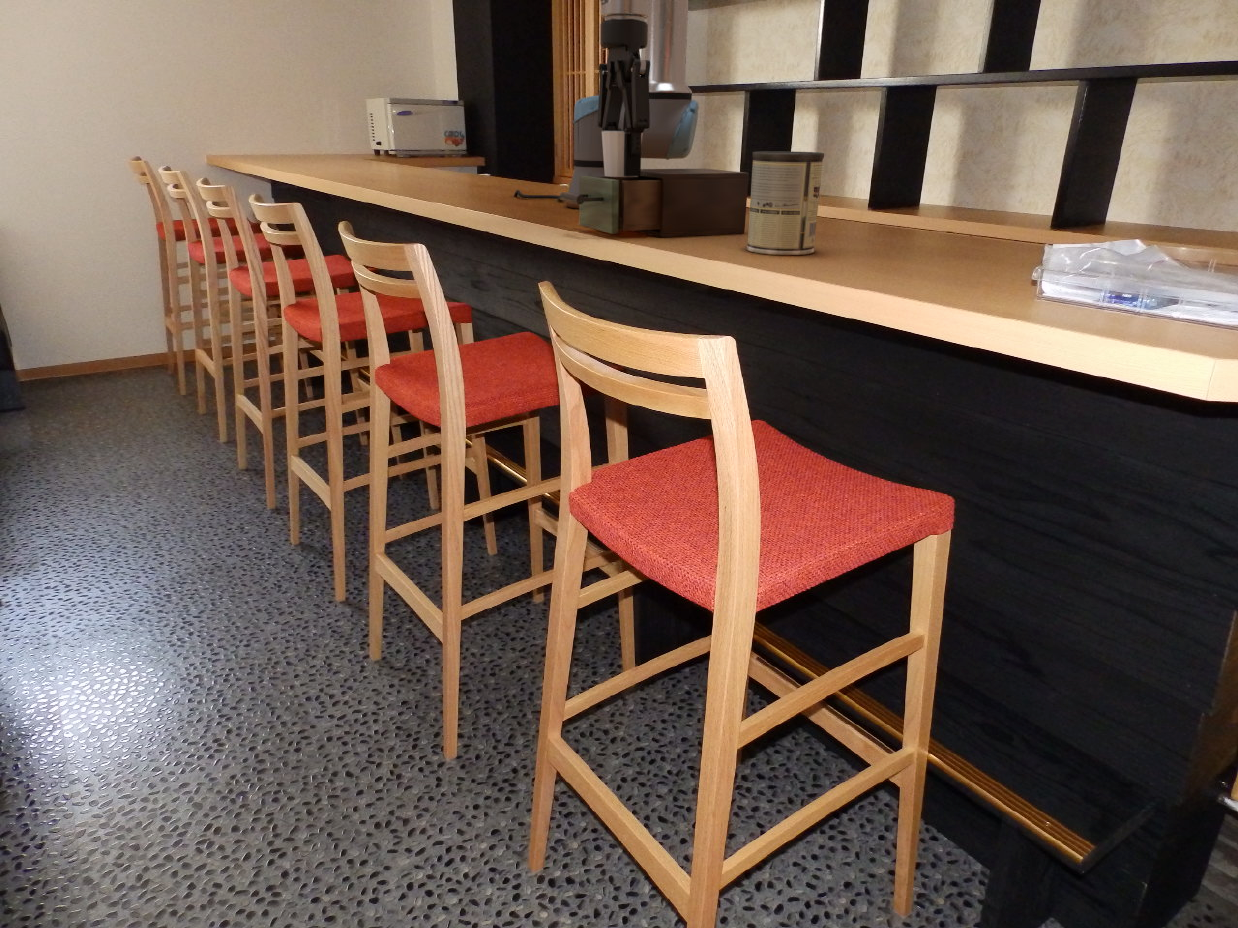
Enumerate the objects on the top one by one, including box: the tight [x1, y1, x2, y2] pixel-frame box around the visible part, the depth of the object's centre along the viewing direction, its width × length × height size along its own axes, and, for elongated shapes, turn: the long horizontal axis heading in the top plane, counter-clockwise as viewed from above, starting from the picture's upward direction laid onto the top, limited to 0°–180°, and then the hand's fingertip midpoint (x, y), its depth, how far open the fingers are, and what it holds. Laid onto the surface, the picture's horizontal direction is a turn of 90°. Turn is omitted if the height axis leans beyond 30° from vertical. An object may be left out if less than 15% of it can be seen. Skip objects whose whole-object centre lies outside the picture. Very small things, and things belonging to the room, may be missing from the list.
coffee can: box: [746, 150, 825, 256], centre depth 125 cm, size 10×10×14 cm
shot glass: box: [602, 131, 643, 177], centre depth 140 cm, size 7×7×7 cm
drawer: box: [559, 175, 662, 235], centre depth 143 cm, size 20×13×8 cm, turn 117°
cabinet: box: [633, 168, 750, 239], centre depth 148 cm, size 17×14×10 cm
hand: (621, 174), depth 141 cm, fingers closed on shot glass, 7 cm apart
